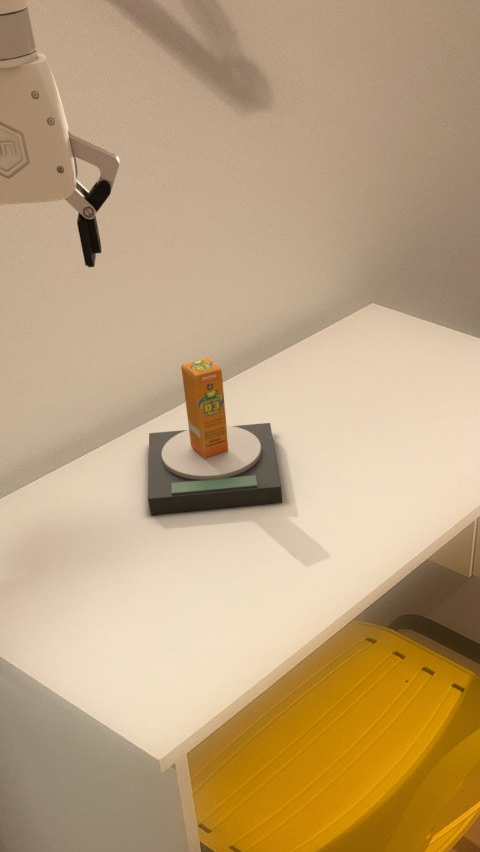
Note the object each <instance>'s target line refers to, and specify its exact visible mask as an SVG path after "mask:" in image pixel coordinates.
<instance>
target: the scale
mask: <svg viewBox="0 0 480 852" xmlns="http://www.w3.org/2000/svg"><path fill="white" fill-rule="evenodd" d="M226 427H227V440H228V451H225V452H222V453H219V454H216V455H213V456H210V457H207V458H203V457H202V456H201V455H200V454H199V453H198V452H196V451H195V450H194V449H193V448H192V446H191V443H190V434H189V429H182V430H181V429H180V430H171V431H160V432H159V431H157V432H149V433H148V473H147V474H148V475H147V476H148V477H147V502H148V507H149V512H150V515H152V516H153V515H162V514H163V515H164V514H173V513H184V512H192V511H193V512H195V511H204V510H206V511H207V510H214V509H215V510H217V509H226V508H237V507H246V506H248V507H249V506H258V505H269V504H279V503H283V491H282V484H281V483H282V482H281V479H280V478H281V477H280V472H279V466H278V461H277V454H276V449H275V444H274V443H275V442H274V438H273V432H272V425H271V423H270V422H265V423H264V422H263V423H253V424H239V425H226Z"/></svg>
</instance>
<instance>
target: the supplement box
mask: <svg viewBox="0 0 480 852" xmlns="http://www.w3.org/2000/svg"><path fill="white" fill-rule="evenodd" d="M180 370H181V376H182V383H183V390H184V392H183V393H184V400H185V407H186V409H185V410H186V416H187V417H186V418H187V424H188V425H187V426H188V430H189V434H190V443H191V446H192V448H193V449H194V450H195V451H196V452H198V453H199V454H200V455H201V456H202V457H203V458H207V457H210V456H213V455H216V454H219V453H222V452H225V451H228V440H227V427H226V426H227V416H226V415H227V414H226V405H225V404H226V403H225V395H224V394H225V393H224V392H225V391H224V382H223V373H222V368H221V367H220V366H219V365H218V364H217V363H215V362H214V361H213V360H212V359H211V358H209V357H204V358H201V359H199V360H194V361H190V362H186V363H182V364H181V365H180Z"/></svg>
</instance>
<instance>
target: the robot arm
mask: <svg viewBox="0 0 480 852" xmlns="http://www.w3.org/2000/svg"><path fill="white" fill-rule="evenodd" d="M76 158H77V159H79V160H82V161H84V162H86V163H88V164H91V165H92V166H94V167H96V168H98V169H99V175H98V178H97V181H96V182H95V183H94V185H93V186H92V187H91V188H90V190H88V189H87V188H86V187H85V186H84V185H83V184H82V183H81V182H80V181H79V180H78V179H77V178H78V165H77V159H76ZM119 168H120V157H119V156H118V155H117V154H116V153H114V152H112V151H109V150H107V149H105V148H103V147H101V146H98V145H96V144H94V143H92V142H89V141H87V140H85V139H83V138H81V137H79V136H76V135H75V134H72V133H70V128H69V124H68V120H67V117H66V113H65V109H64V106H63V102H62V99H61V94H60V92H59V89H58V85H57V82H56V80H55V76H54V74H53V71H52V69H51V65H50V63H49V60H48V58H47V55H45V54H44V53H42V52H37V46H36V41H35V37H34V32H33V27H32V22H31V17H30V12H29V8H28V2H27V0H0V205H1V206H2V205H17V204H19V205H21V204H36V203H37V204H38V203H49V202H58V201H63V200H65V201H66V203H68V204H69V205H70V206H71V207H72V208H74V209H75V211H77V213H78V214H77V220H76V223H77V224H76V225H77V231H78V235H79V241H80V245H81V251H82V255H83V259H84V265H85V267H87V268H95V265H96V258H97V255H96V254H102V252H103V251H102V242H101V238H100V237H101V236H100V231H99V226H98V221H97V216H96V215H97V213H98V212H99V210H100V209H101V208H102V206H103V205H104V204H105V202H106V201H107V200H108V198H109V197H110V196H111V194H112V193H111V192H112V189H113V186H114V183H115V181H116V177H117V174H118V171H119Z"/></svg>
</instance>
